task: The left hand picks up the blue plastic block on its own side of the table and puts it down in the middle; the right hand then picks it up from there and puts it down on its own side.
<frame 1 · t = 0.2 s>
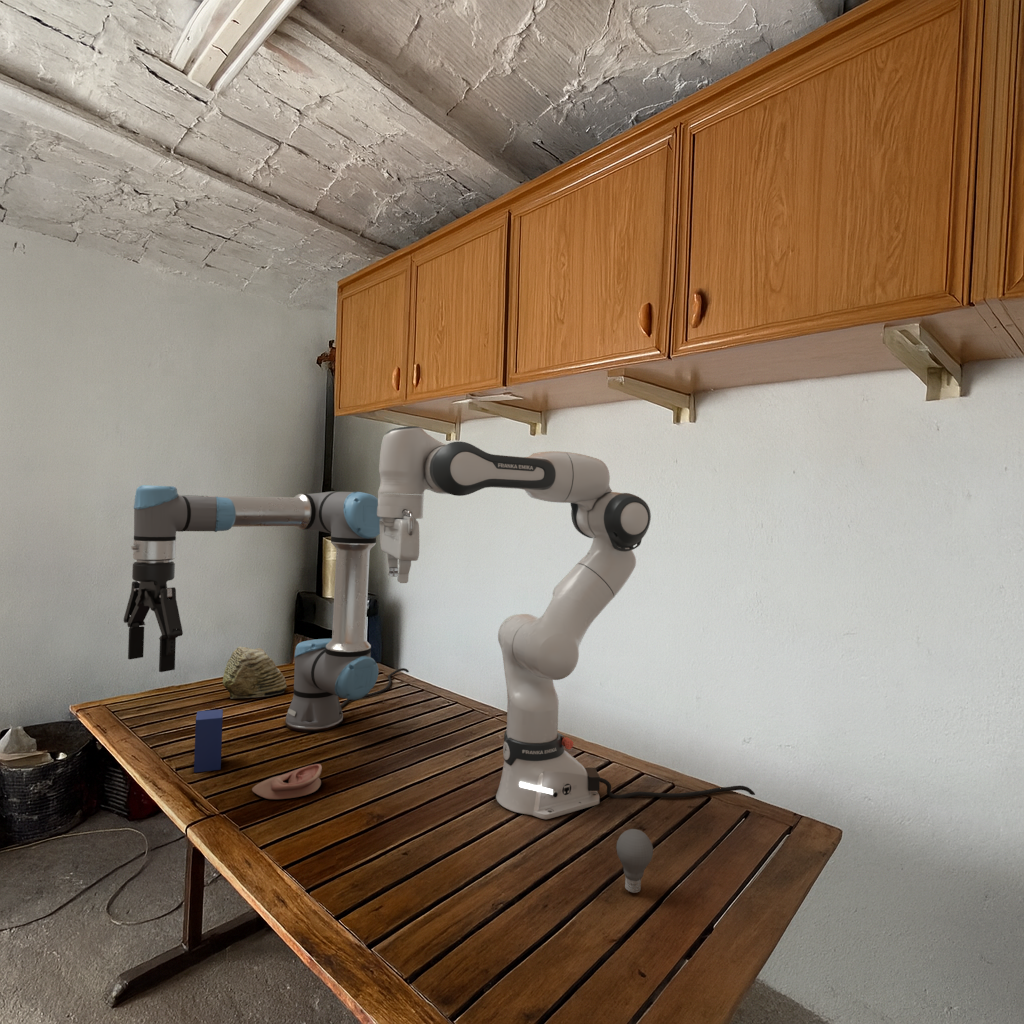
left hand: (150, 664, 130), 28 cm above the table, tool pointing down, fingers open, 13 cm apart
right hand: (397, 579, 124), 48 cm above the table, tool pointing down, fingers open, 8 cm apart
anatomical model: (287, 788, 137), on the table
fossil: (254, 694, 198), on the table
block: (207, 765, 146), on the table
light bulb: (632, 891, 106), on the table
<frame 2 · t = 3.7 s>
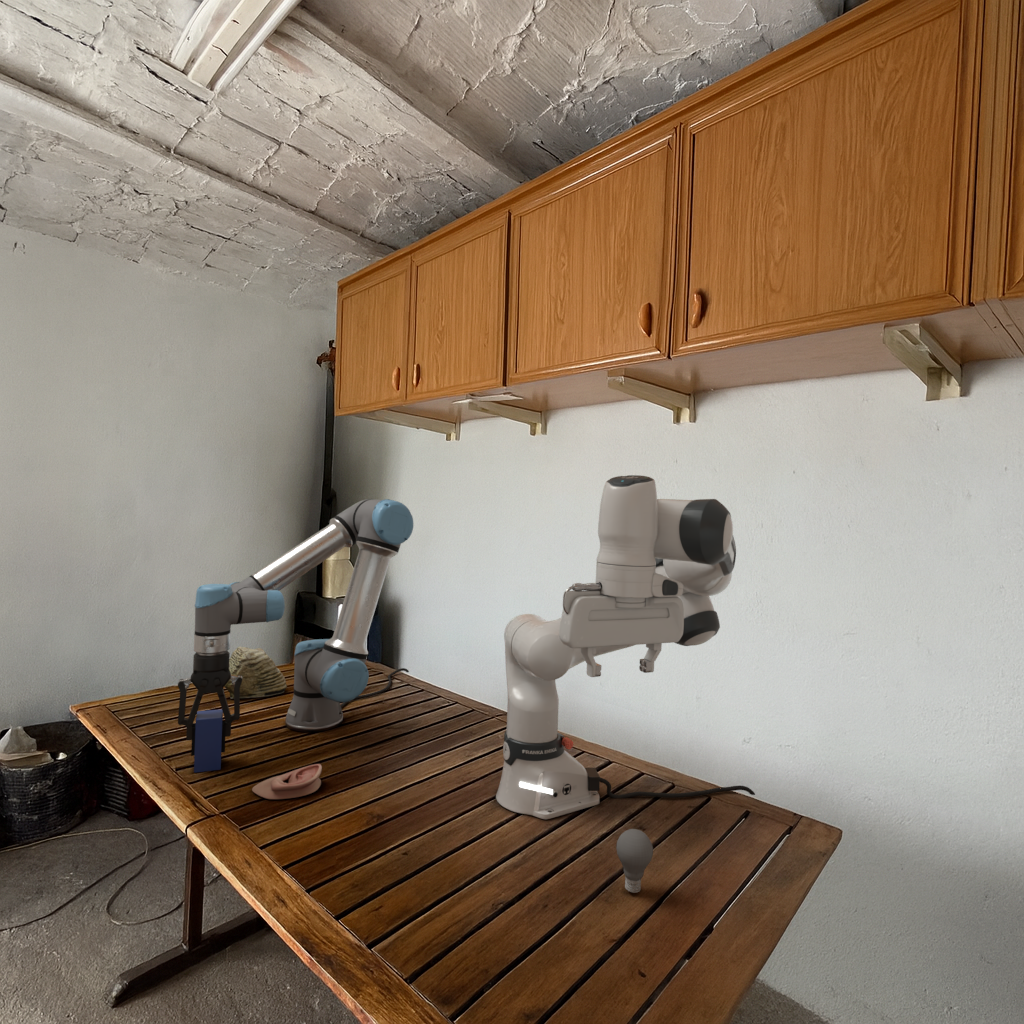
left hand: (208, 751, 146), 3 cm above the table, tool pointing down, fingers closed on block, 5 cm apart
right hand: (620, 673, 96), 39 cm above the table, tool pointing down, fingers open, 8 cm apart
block: (207, 765, 146), on the table, touching left hand
everything else where it was.
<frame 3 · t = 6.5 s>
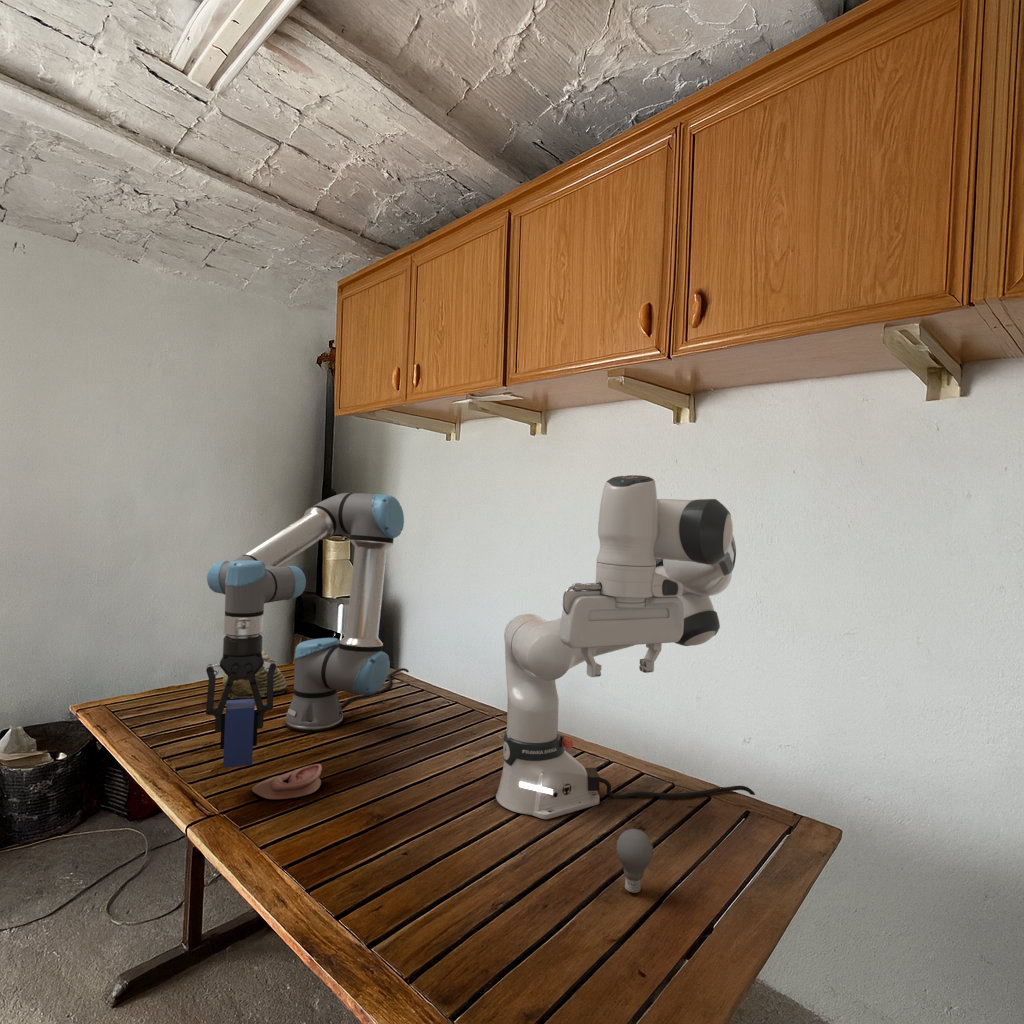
left hand: (238, 744, 133), 11 cm above the table, tool pointing down, fingers closed on block, 5 cm apart
right hand: (620, 673, 96), 39 cm above the table, tool pointing down, fingers open, 8 cm apart
block: (238, 760, 133), point 7 cm above the table, touching left hand
everything else where it was.
when the left hand's fingers open (5 cm above the table, at t = 9.7 s): block drops 1 cm, on the table.
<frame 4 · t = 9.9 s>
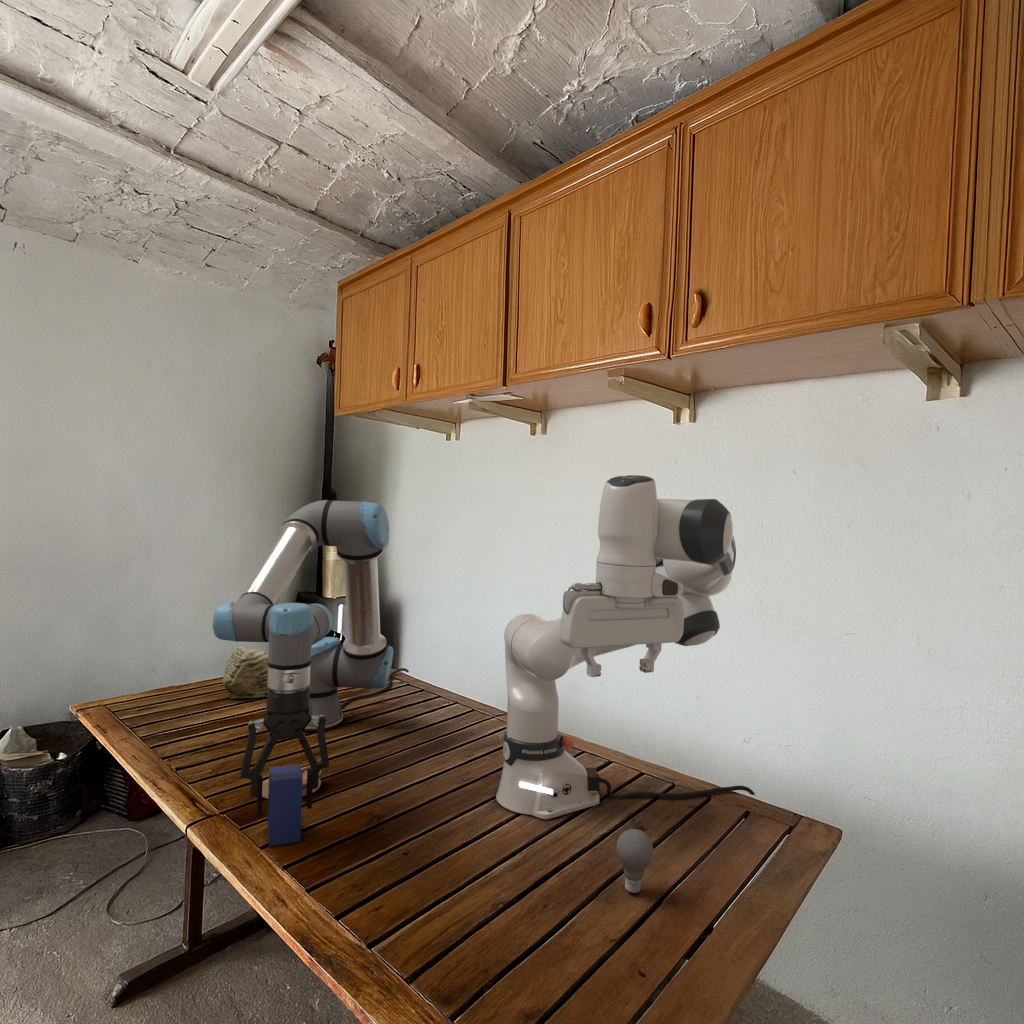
left hand: (284, 809, 118), 5 cm above the table, tool pointing down, fingers open, 8 cm apart
right hand: (620, 673, 96), 39 cm above the table, tool pointing down, fingers open, 8 cm apart
block: (283, 835, 118), on the table
everything else where it was.
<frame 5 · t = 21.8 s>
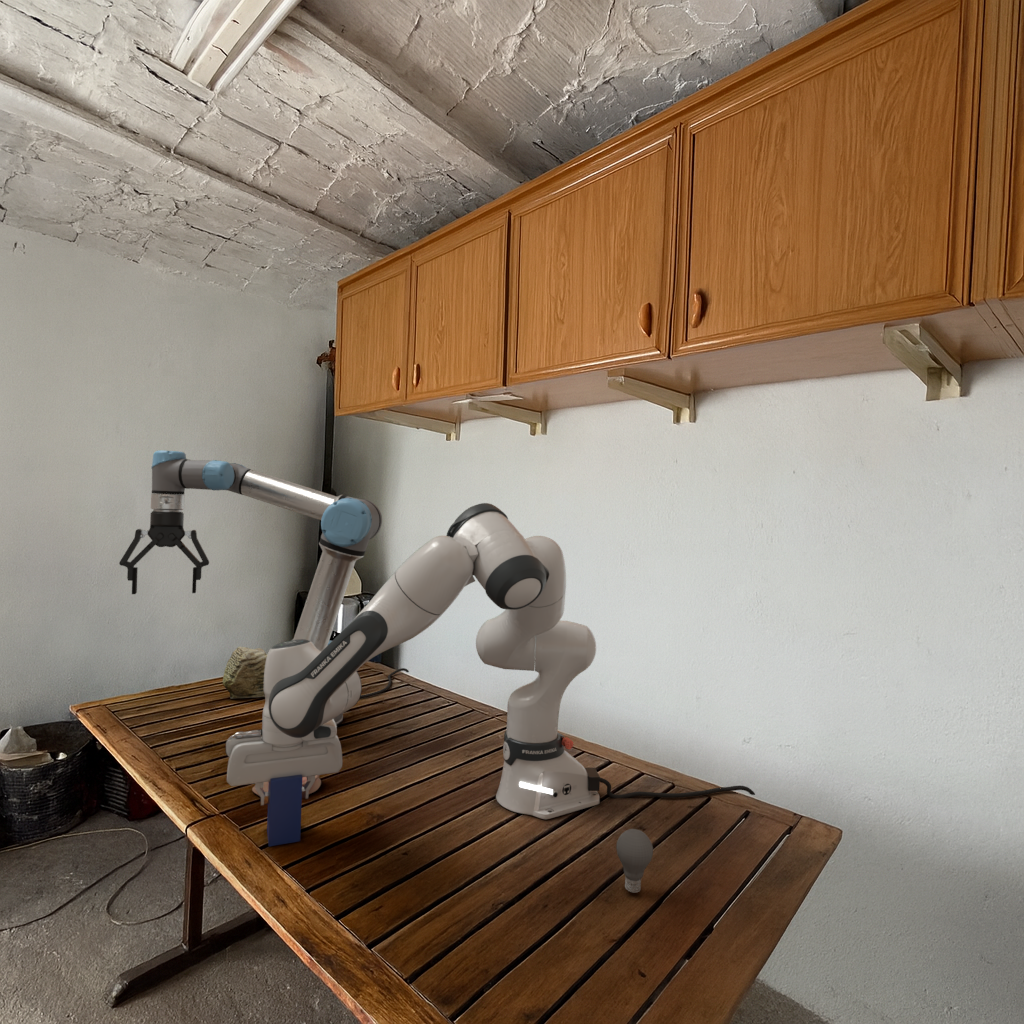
left hand: (164, 593, 163), 36 cm above the table, tool pointing down, fingers open, 13 cm apart
right hand: (284, 800, 118), 7 cm above the table, tool pointing down, fingers closed on block, 5 cm apart
block: (283, 835, 118), on the table, touching right hand
everything else where it was.
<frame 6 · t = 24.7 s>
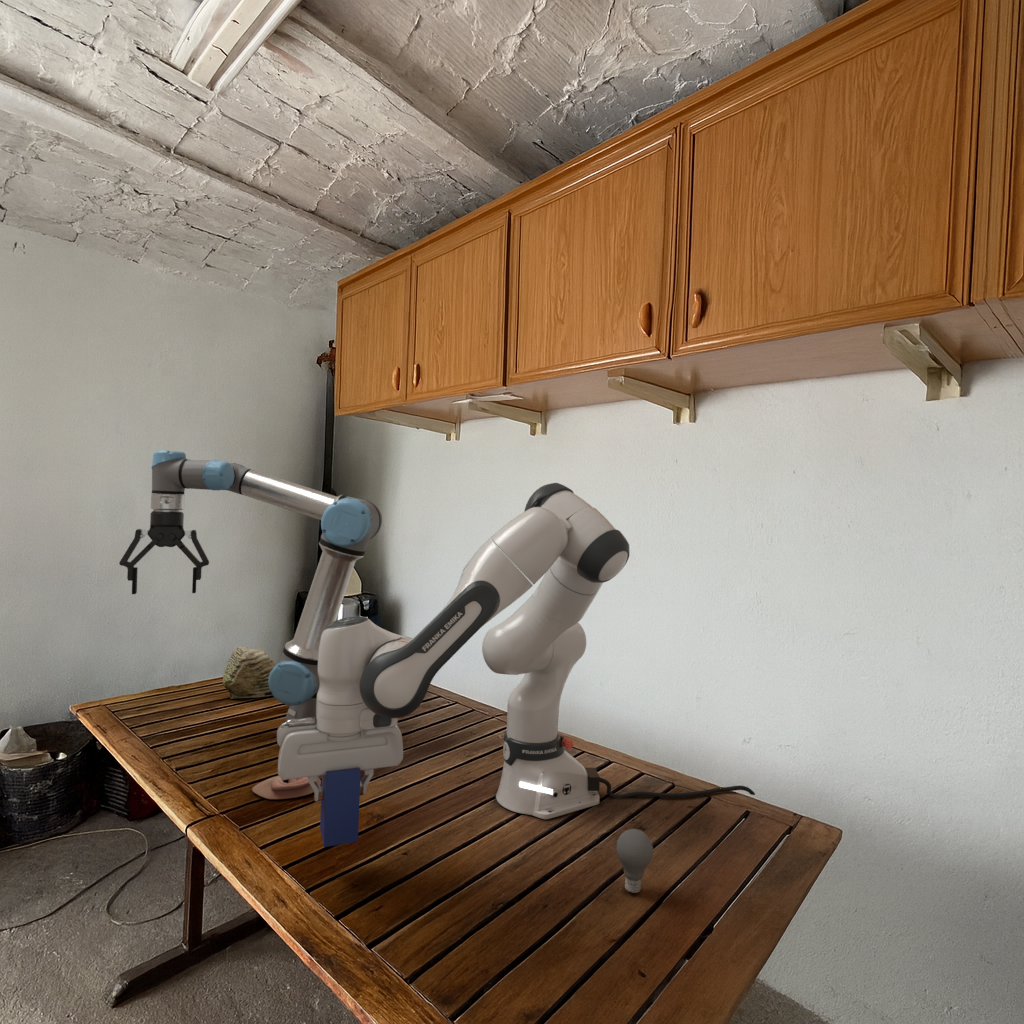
left hand: (164, 593, 163), 36 cm above the table, tool pointing down, fingers open, 13 cm apart
right hand: (340, 796, 106), 14 cm above the table, tool pointing down, fingers closed on block, 5 cm apart
block: (338, 835, 106), point 7 cm above the table, touching right hand
everything else where it was.
when the right hand's fingers open (8 cm above the table, at t = 27.6 s): block drops 1 cm, on the table.
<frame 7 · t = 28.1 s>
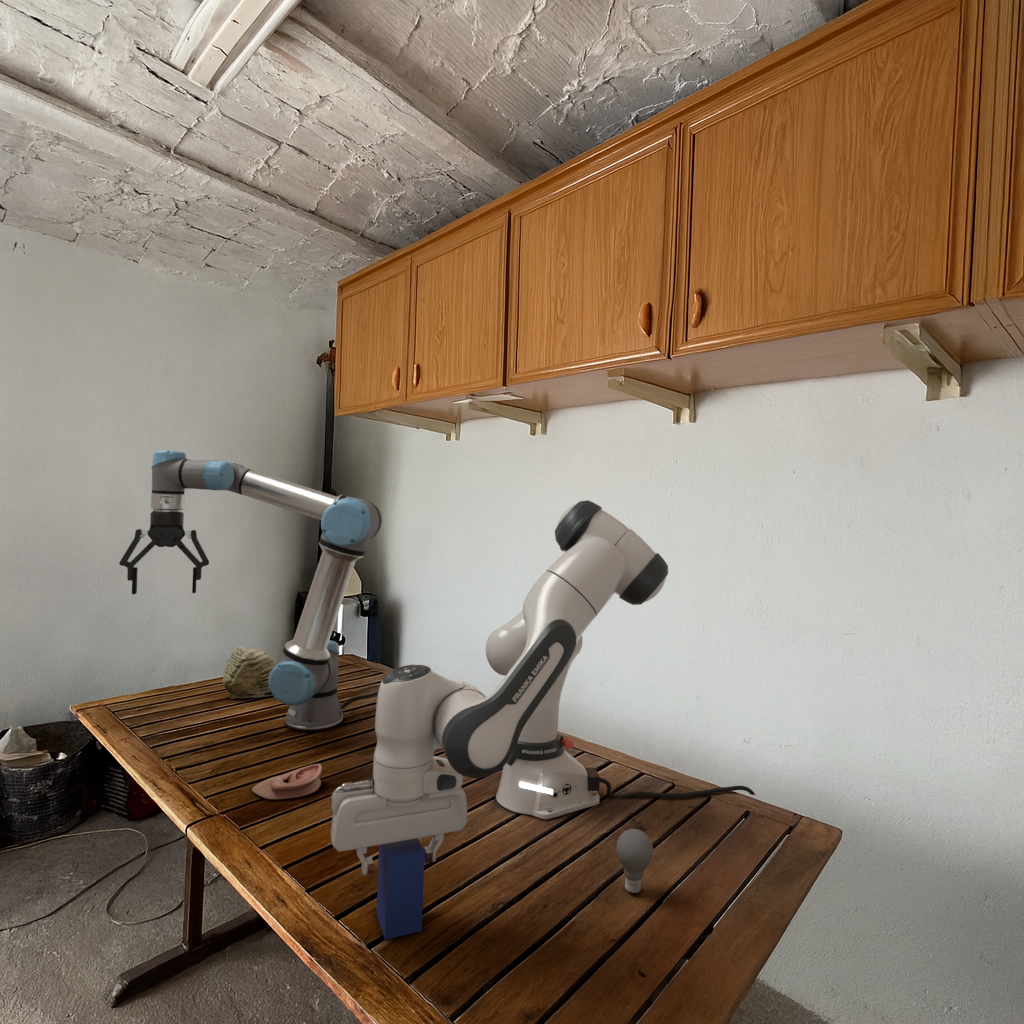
left hand: (164, 593, 163), 36 cm above the table, tool pointing down, fingers open, 13 cm apart
right hand: (398, 866, 95), 9 cm above the table, tool pointing down, fingers open, 8 cm apart
block: (398, 922, 95), on the table
everything else where it was.
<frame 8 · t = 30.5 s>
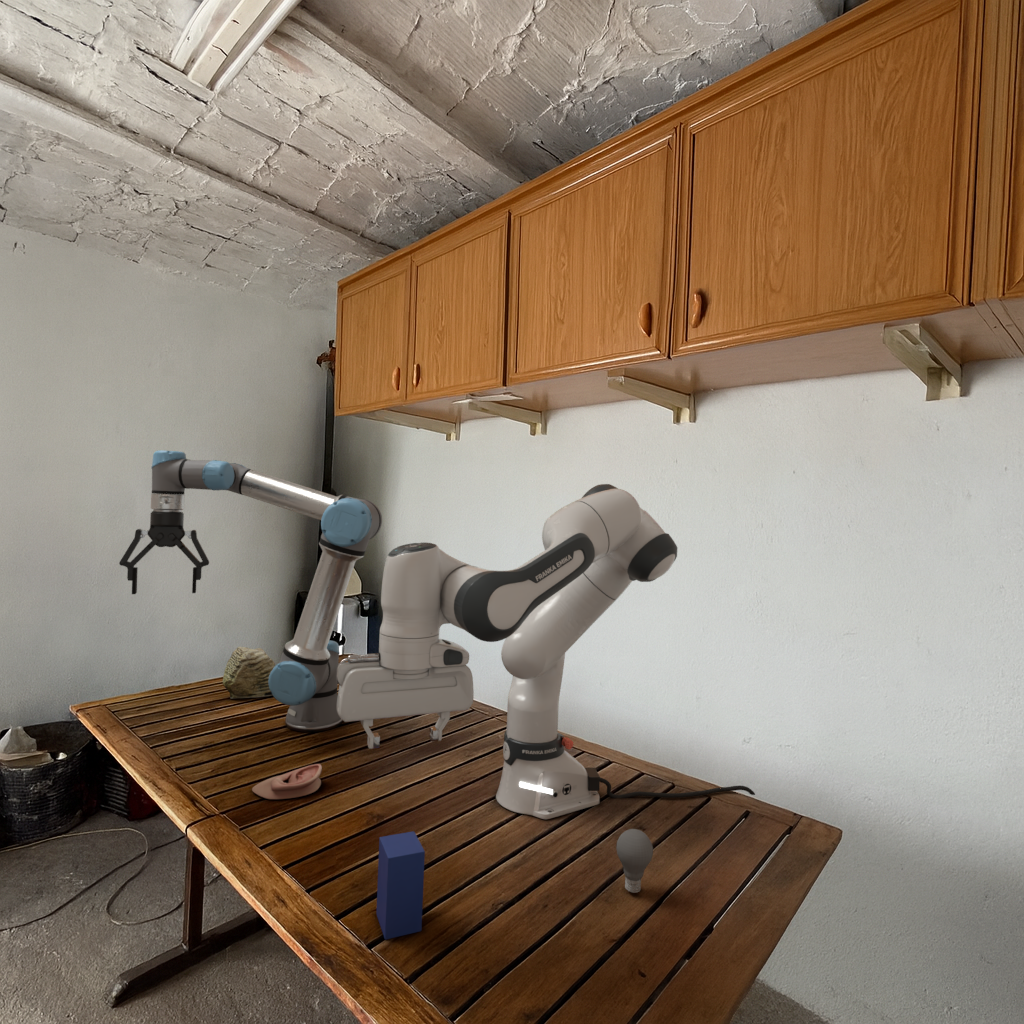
left hand: (164, 593, 163), 36 cm above the table, tool pointing down, fingers open, 13 cm apart
right hand: (405, 743, 95), 27 cm above the table, tool pointing down, fingers open, 8 cm apart
nothing on the table moved.
at the end: block inside the target area (0.2 cm from its centre), on the table; block tilted 0°; the two hands never held the block at the same time; the left hand is holding nothing; the right hand is holding nothing; block at rest at the end (0.0 cm/s) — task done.
